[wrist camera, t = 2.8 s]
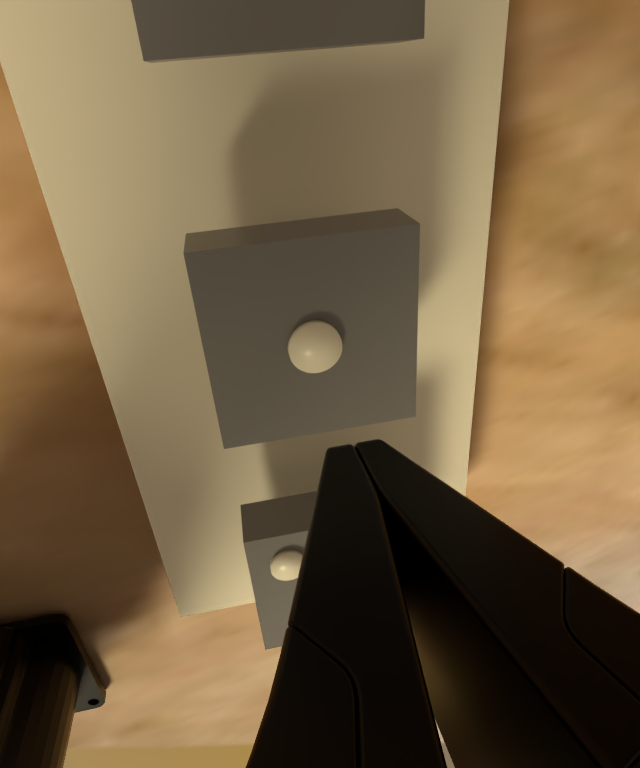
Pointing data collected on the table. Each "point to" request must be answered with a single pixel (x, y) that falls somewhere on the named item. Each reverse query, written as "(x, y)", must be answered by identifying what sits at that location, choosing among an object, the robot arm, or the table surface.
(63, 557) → the table surface
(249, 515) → the button three pips
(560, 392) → the table surface
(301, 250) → the button one pip
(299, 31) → the button two pips
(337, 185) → the panel
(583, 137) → the table surface
